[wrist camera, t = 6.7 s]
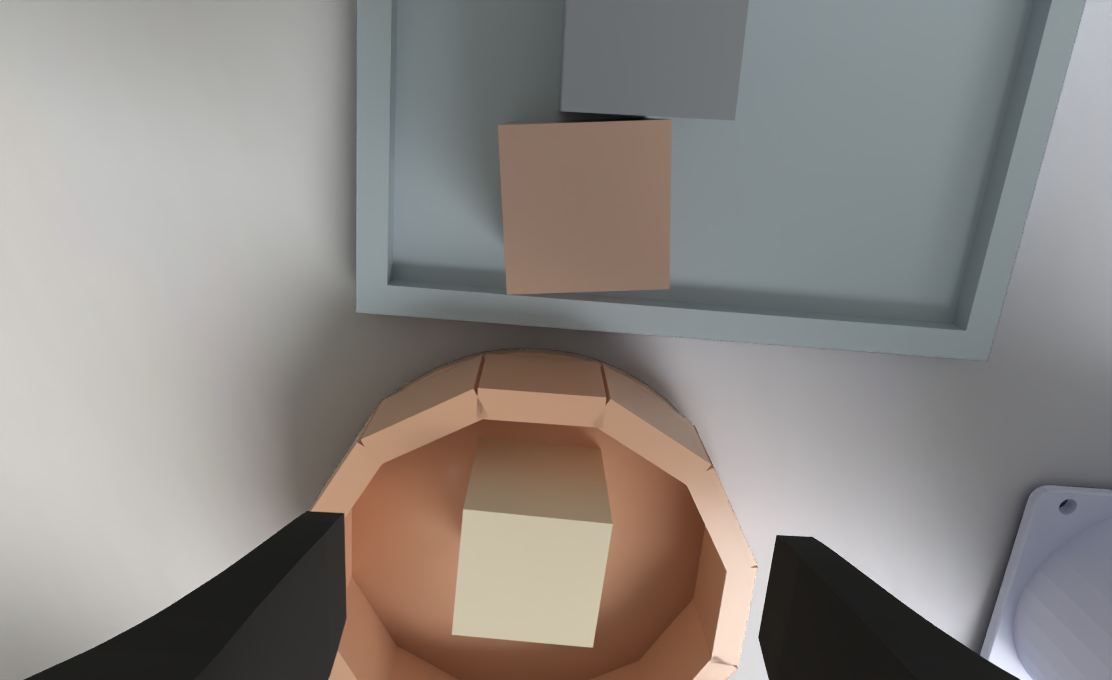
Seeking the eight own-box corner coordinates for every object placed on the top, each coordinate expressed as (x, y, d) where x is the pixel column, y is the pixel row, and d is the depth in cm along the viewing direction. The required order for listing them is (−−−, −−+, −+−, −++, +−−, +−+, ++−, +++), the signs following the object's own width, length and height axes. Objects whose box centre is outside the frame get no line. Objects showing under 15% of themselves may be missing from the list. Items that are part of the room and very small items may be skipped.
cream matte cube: (601, 448, 21) (612, 524, 17) (585, 554, 22) (593, 647, 18) (478, 436, 21) (463, 508, 17) (468, 542, 22) (451, 634, 18)
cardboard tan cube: (646, 117, 19) (671, 119, 15) (645, 254, 20) (669, 288, 16) (507, 122, 19) (497, 125, 15) (514, 258, 20) (507, 294, 16)
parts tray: (1075, -84, 18) (1112, -97, 17) (963, 347, 21) (987, 361, 20) (369, -154, 17) (357, -173, 16) (366, 301, 20) (355, 312, 19)
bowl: (751, 364, 21) (788, 411, 18) (693, 701, 25) (715, 790, 21) (330, 332, 21) (290, 374, 17) (333, 679, 24) (300, 767, 21)
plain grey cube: (712, -35, 18) (758, -75, 14) (696, 118, 19) (734, 120, 15) (566, -43, 17) (571, -86, 14) (558, 111, 19) (560, 111, 15)
